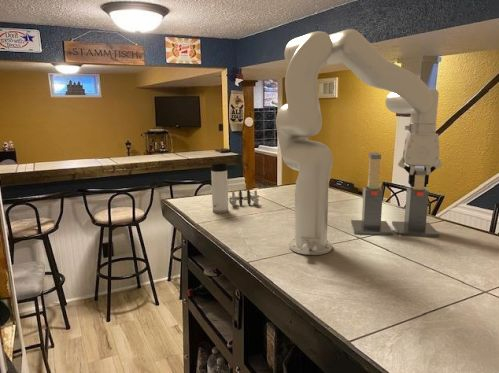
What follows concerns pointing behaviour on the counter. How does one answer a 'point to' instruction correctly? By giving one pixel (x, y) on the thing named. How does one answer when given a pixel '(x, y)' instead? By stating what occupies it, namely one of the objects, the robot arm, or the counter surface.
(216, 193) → the travel mug
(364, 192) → the sleeve
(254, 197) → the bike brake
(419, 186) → the column
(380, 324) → the counter surface
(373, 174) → the column
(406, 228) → the sleeve
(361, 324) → the counter surface
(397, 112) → the robot arm
